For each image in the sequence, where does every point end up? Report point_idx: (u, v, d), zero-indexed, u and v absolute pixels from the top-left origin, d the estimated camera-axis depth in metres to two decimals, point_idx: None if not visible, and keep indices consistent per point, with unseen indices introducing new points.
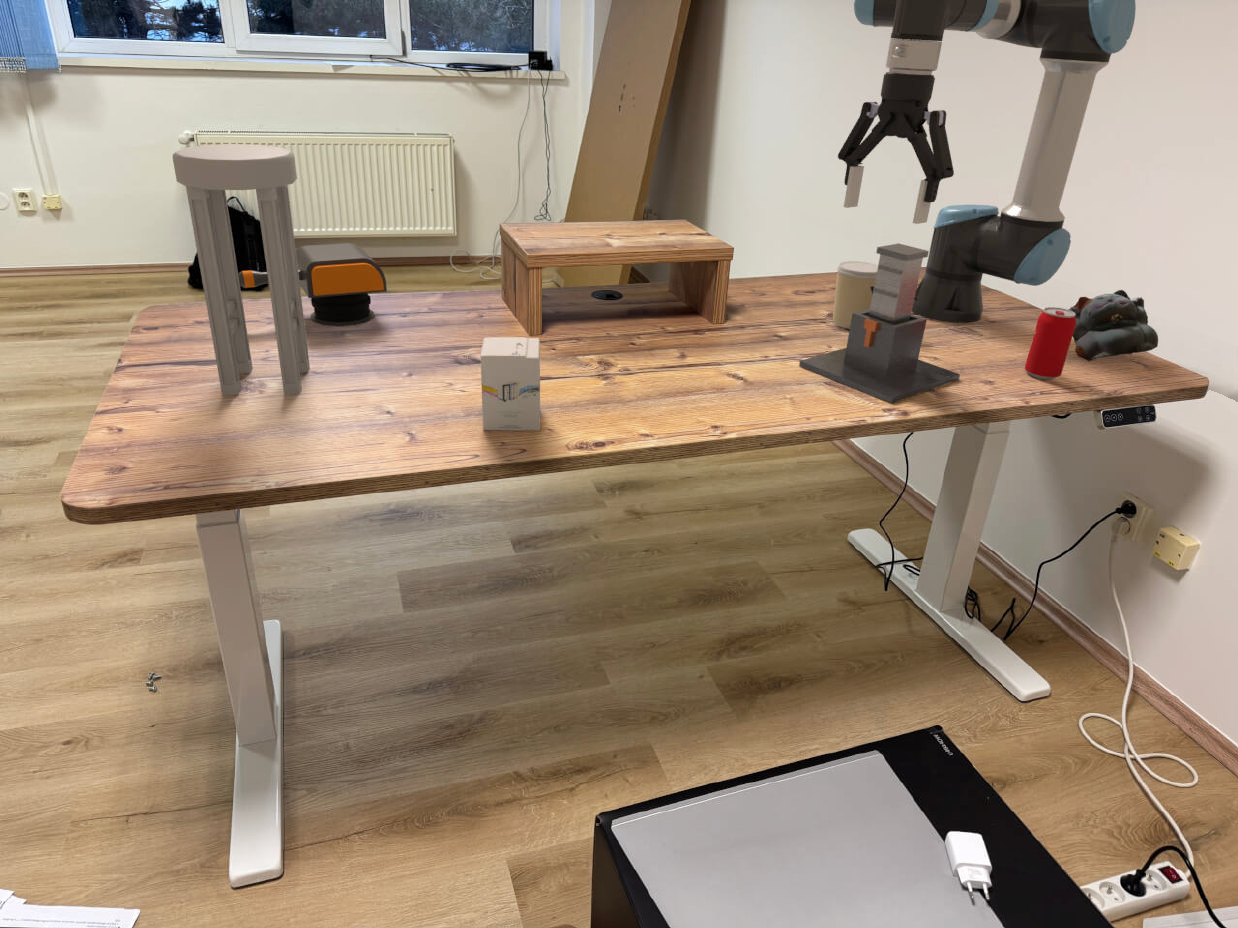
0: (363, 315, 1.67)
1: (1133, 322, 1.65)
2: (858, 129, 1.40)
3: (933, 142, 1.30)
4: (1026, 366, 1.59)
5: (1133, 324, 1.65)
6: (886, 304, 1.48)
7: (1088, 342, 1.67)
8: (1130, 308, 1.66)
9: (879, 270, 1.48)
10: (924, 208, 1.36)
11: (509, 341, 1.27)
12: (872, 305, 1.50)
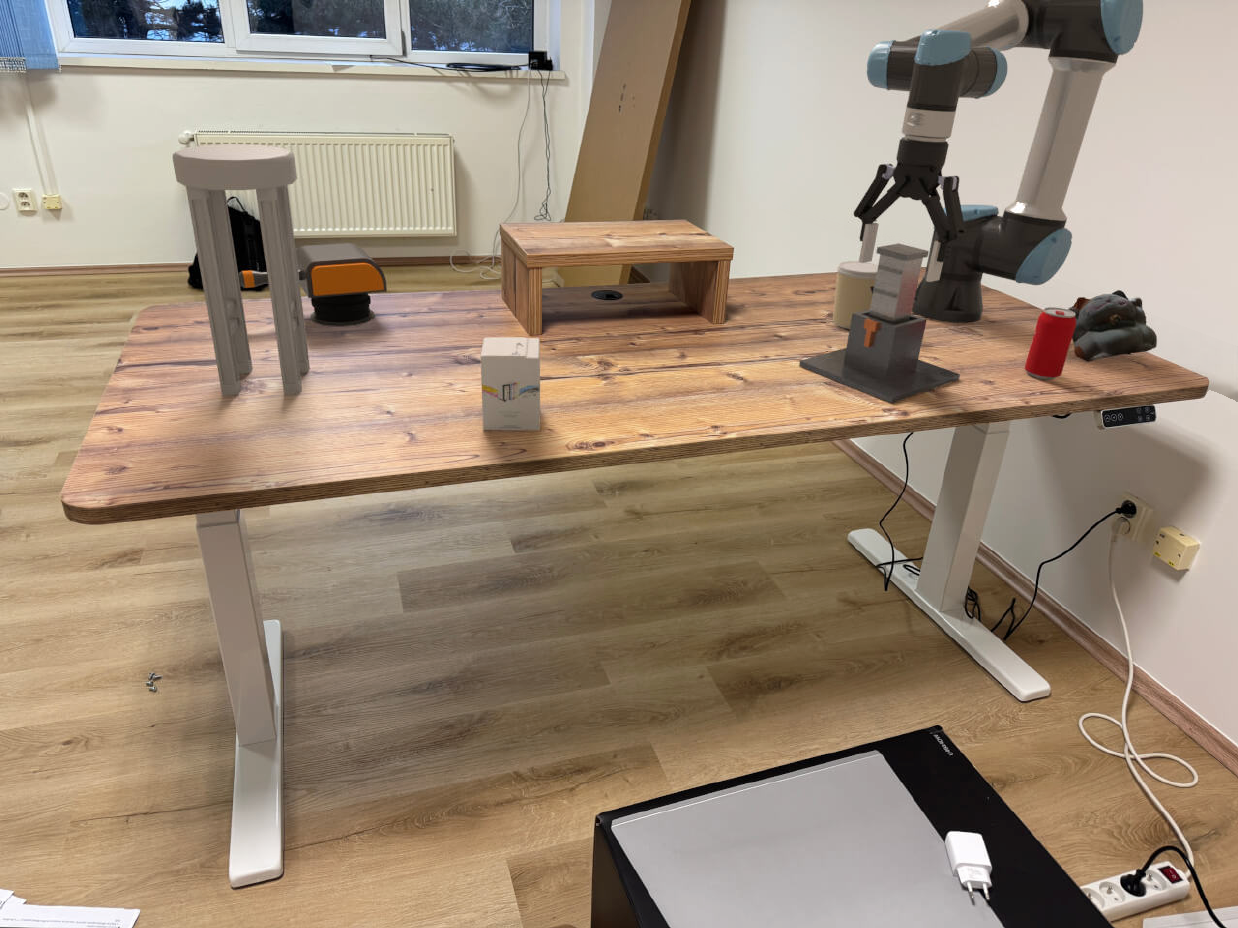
0: (363, 315, 1.67)
1: (1132, 322, 1.65)
2: (874, 189, 1.46)
3: (947, 206, 1.36)
4: (1026, 366, 1.59)
5: (1132, 324, 1.64)
6: (886, 304, 1.48)
7: (1087, 343, 1.66)
8: (1129, 309, 1.66)
9: (879, 270, 1.48)
10: (937, 267, 1.41)
11: (509, 341, 1.27)
12: (872, 305, 1.50)
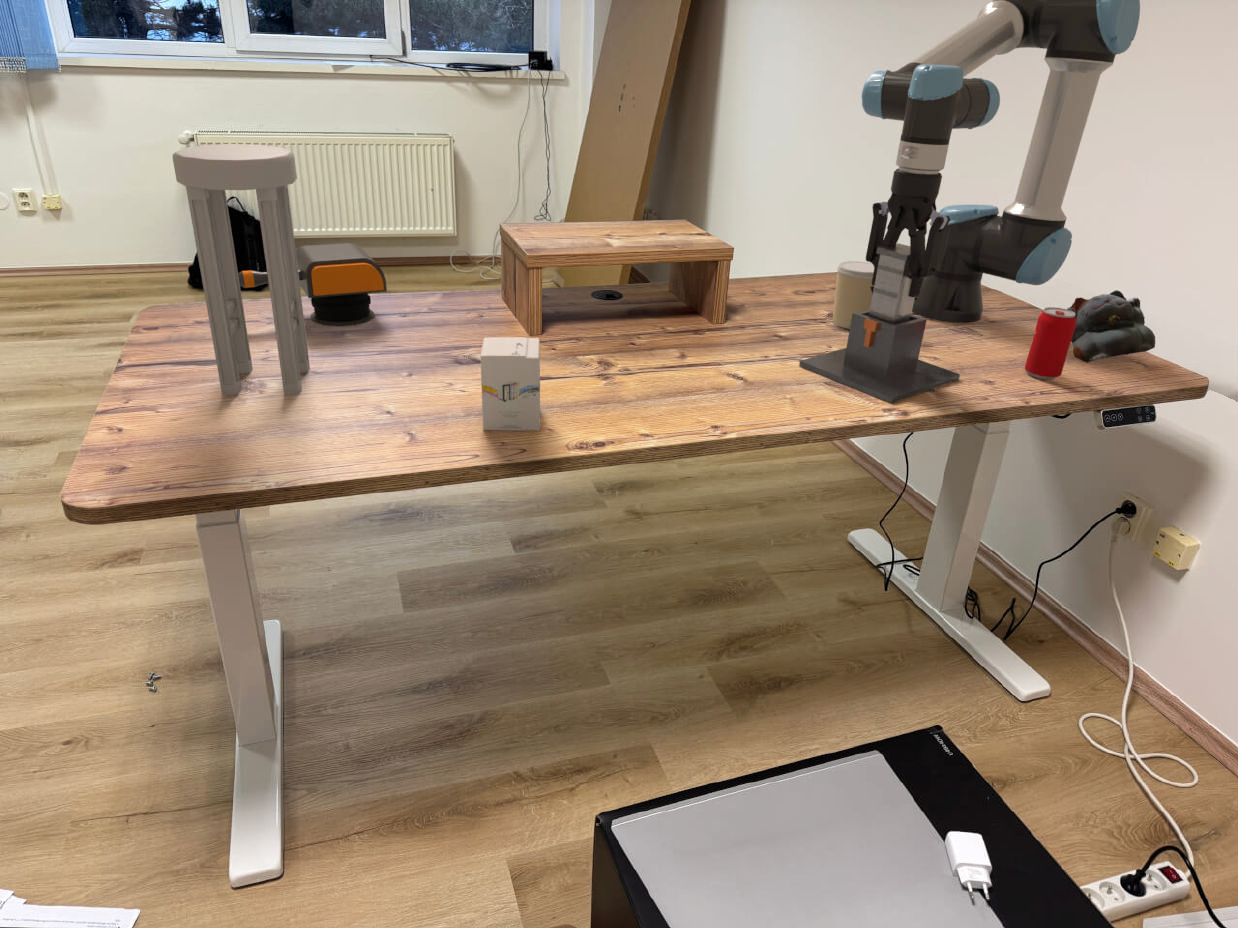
0: (363, 315, 1.67)
1: (1130, 323, 1.64)
2: (876, 228, 1.48)
3: (928, 244, 1.41)
4: (1026, 366, 1.59)
5: (1130, 324, 1.64)
6: (886, 304, 1.48)
7: (1085, 343, 1.66)
8: (1127, 309, 1.66)
9: (879, 270, 1.48)
10: (909, 302, 1.47)
11: (509, 341, 1.27)
12: (872, 305, 1.50)
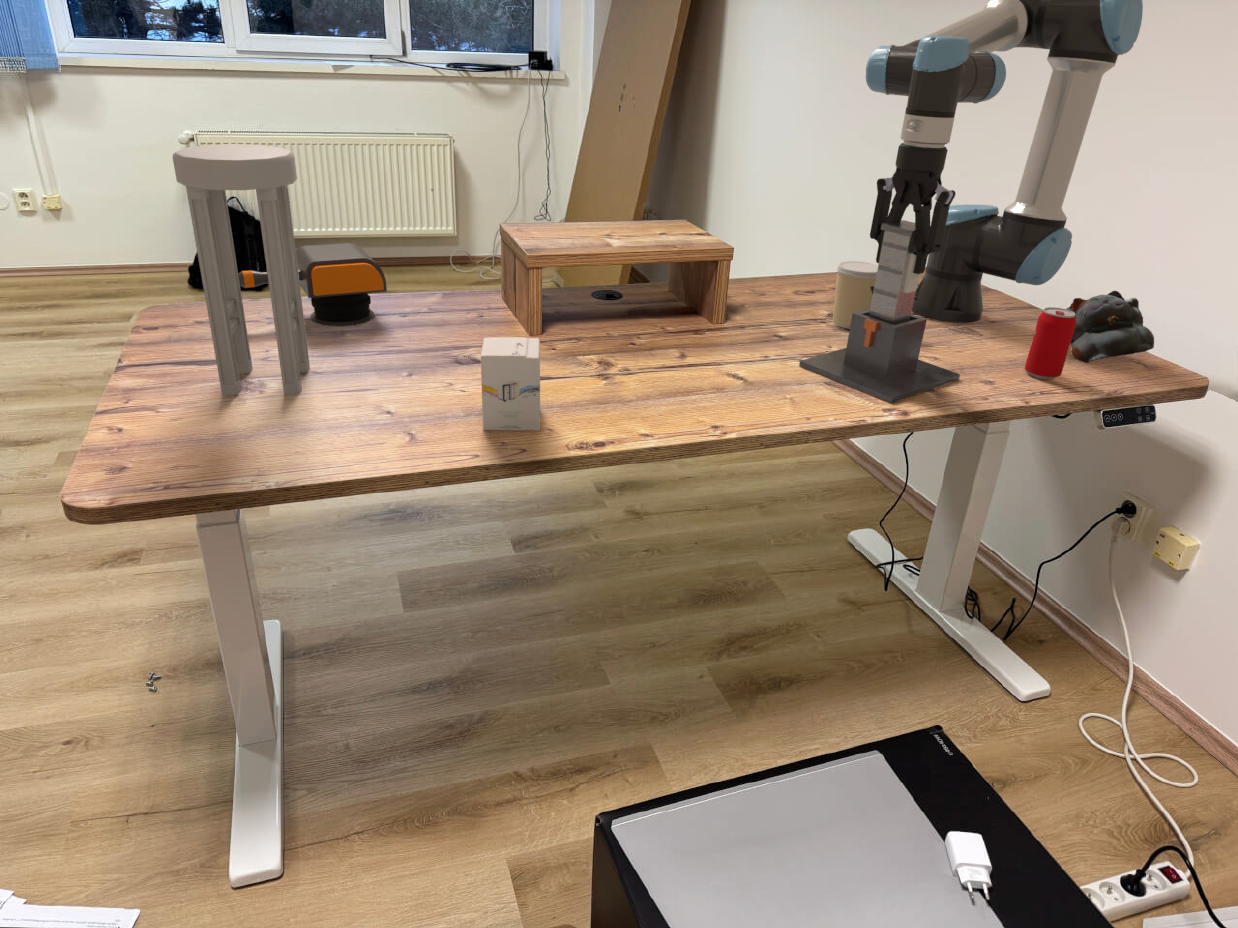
0: (363, 315, 1.67)
1: (1129, 323, 1.64)
2: (880, 204, 1.46)
3: (934, 219, 1.39)
4: (1026, 366, 1.59)
5: (1129, 325, 1.64)
6: (890, 281, 1.46)
7: (1084, 344, 1.66)
8: (1126, 309, 1.65)
9: (883, 247, 1.46)
10: (913, 279, 1.46)
11: (509, 341, 1.27)
12: (876, 283, 1.49)
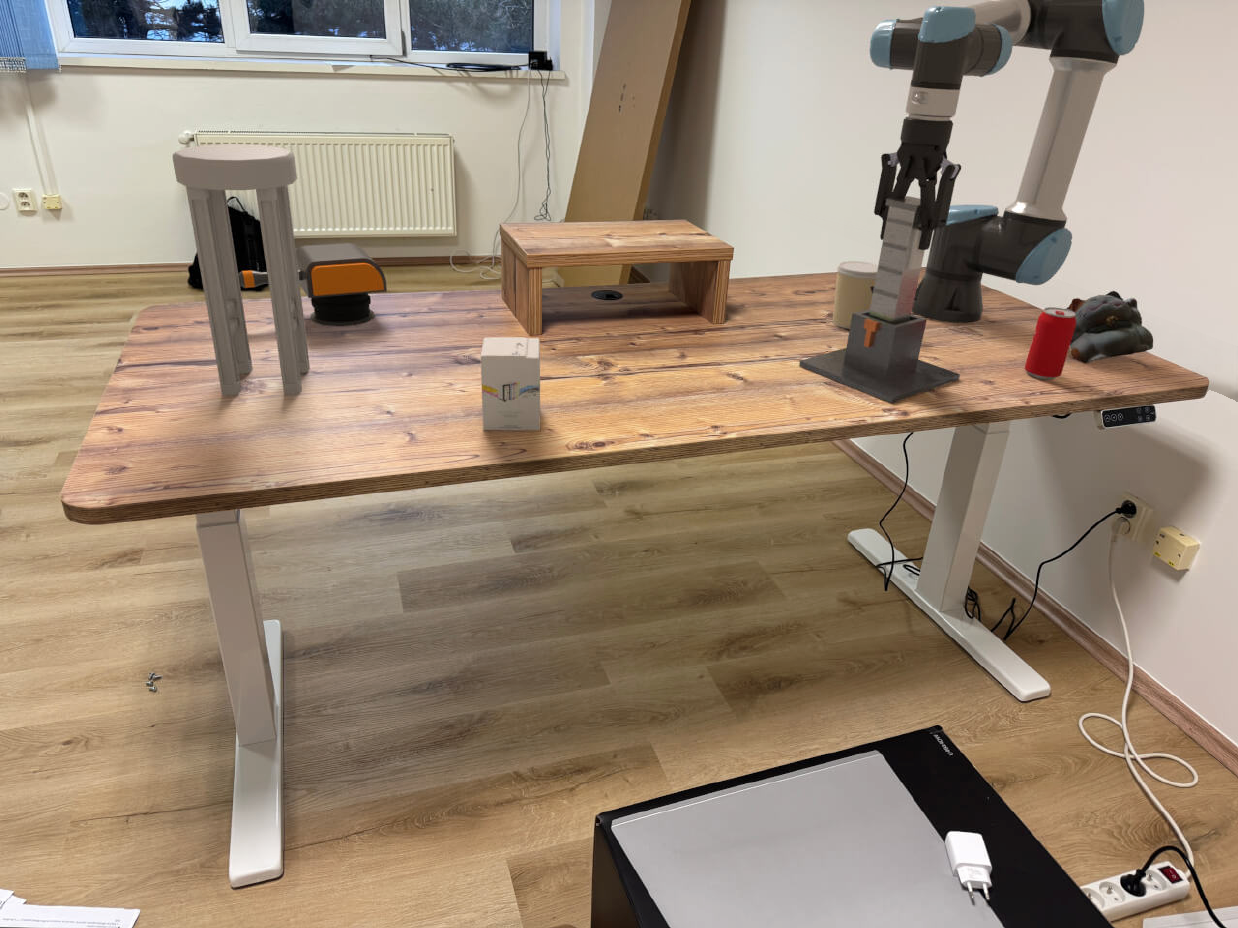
0: (363, 315, 1.67)
1: (1128, 323, 1.64)
2: (885, 180, 1.44)
3: (939, 193, 1.37)
4: (1026, 366, 1.59)
5: (1128, 325, 1.63)
6: (895, 258, 1.45)
7: (1084, 345, 1.65)
8: (1124, 310, 1.65)
9: (888, 223, 1.44)
10: (918, 255, 1.44)
11: (509, 341, 1.27)
12: (881, 260, 1.47)
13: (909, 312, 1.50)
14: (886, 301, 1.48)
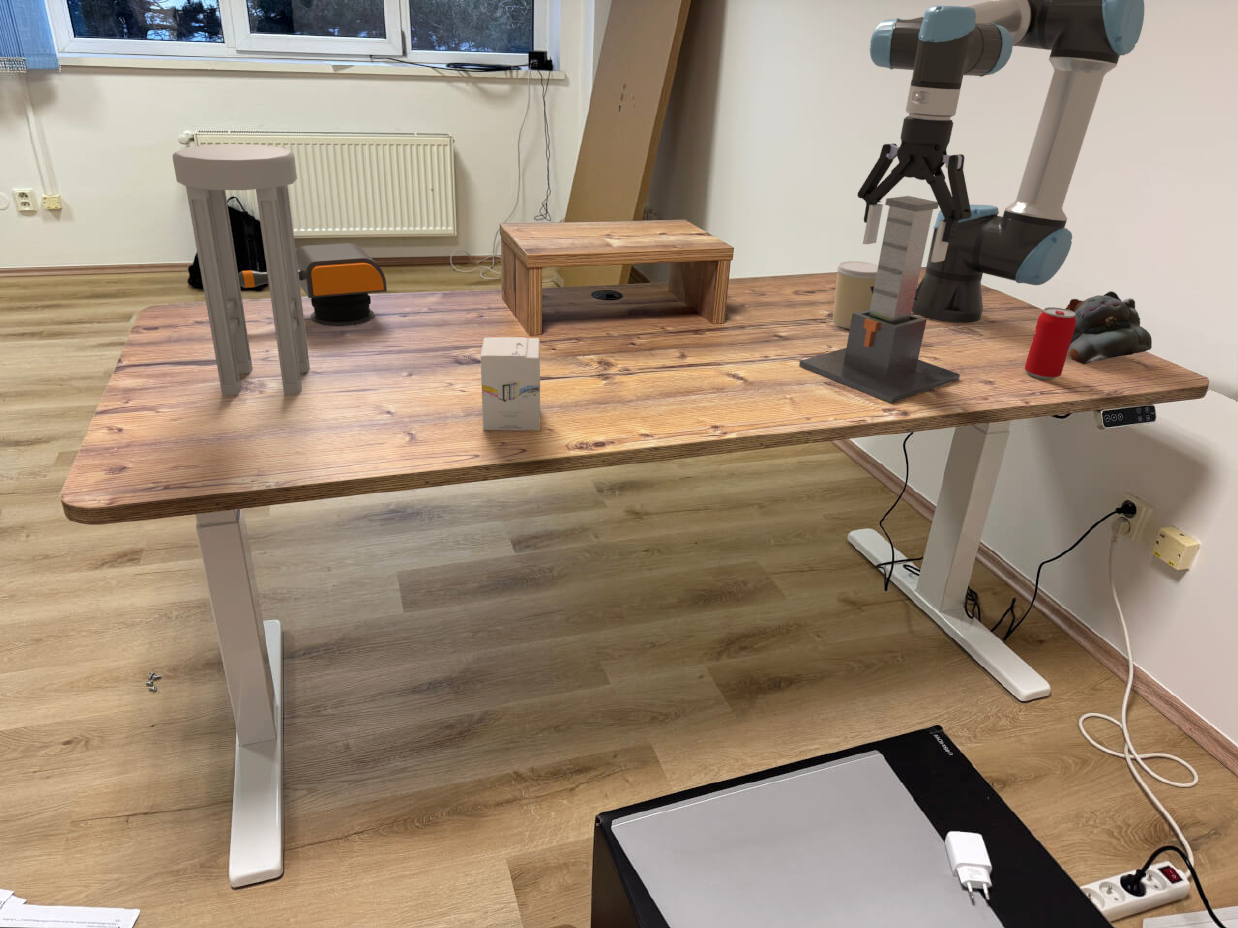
0: (363, 315, 1.67)
1: (1127, 324, 1.63)
2: (878, 169, 1.44)
3: (952, 185, 1.35)
4: (1026, 366, 1.59)
5: (1127, 326, 1.63)
6: (895, 257, 1.45)
7: (1083, 345, 1.65)
8: (1123, 310, 1.65)
9: (888, 223, 1.44)
10: (942, 248, 1.40)
11: (509, 341, 1.27)
12: (881, 259, 1.47)
13: (909, 312, 1.50)
14: (886, 301, 1.48)
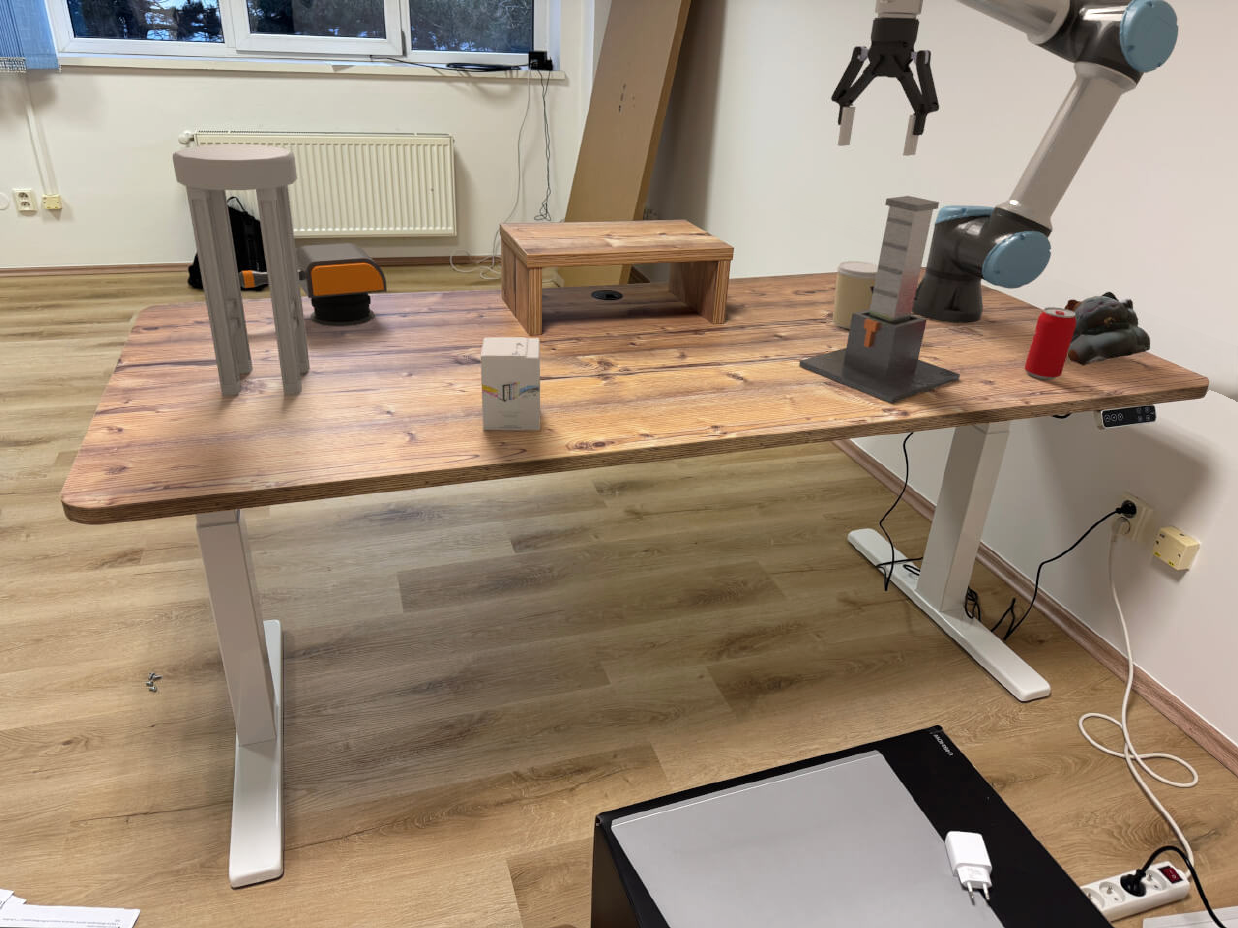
0: (363, 315, 1.67)
1: (1125, 325, 1.63)
2: (850, 72, 1.53)
3: (920, 80, 1.44)
4: (1026, 366, 1.59)
5: (1126, 326, 1.63)
6: (895, 257, 1.45)
7: (1081, 346, 1.64)
8: (1121, 311, 1.64)
9: (888, 223, 1.44)
10: (913, 141, 1.50)
11: (509, 341, 1.27)
12: (881, 259, 1.47)
13: (909, 312, 1.50)
14: (886, 301, 1.48)
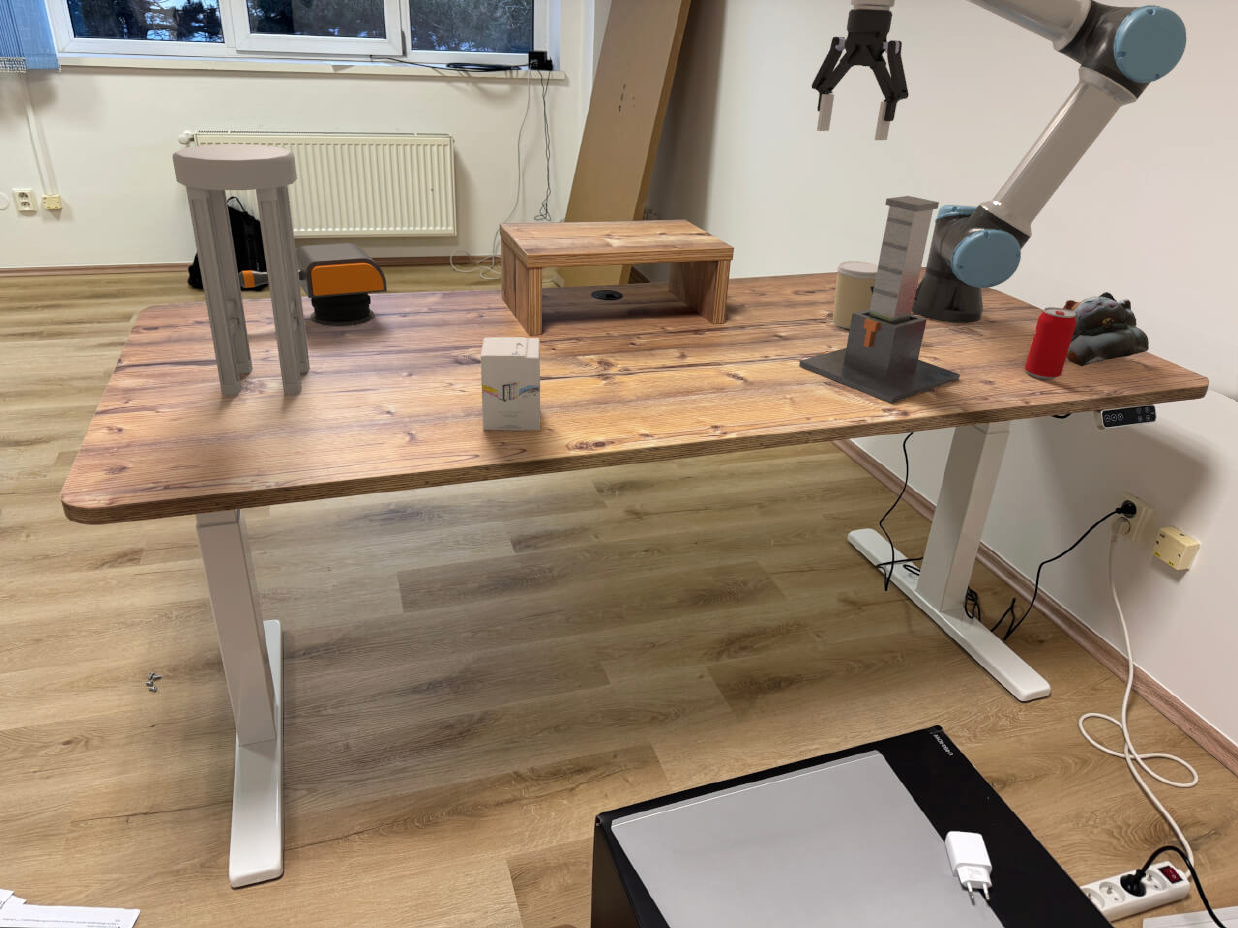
0: (363, 315, 1.67)
1: (1124, 325, 1.63)
2: (828, 61, 1.63)
3: (891, 68, 1.53)
4: (1026, 366, 1.59)
5: (1124, 327, 1.62)
6: (895, 257, 1.45)
7: (1080, 347, 1.64)
8: (1119, 311, 1.64)
9: (888, 223, 1.44)
10: (884, 127, 1.58)
11: (509, 341, 1.27)
12: (881, 259, 1.47)
13: (909, 312, 1.50)
14: (886, 301, 1.48)
